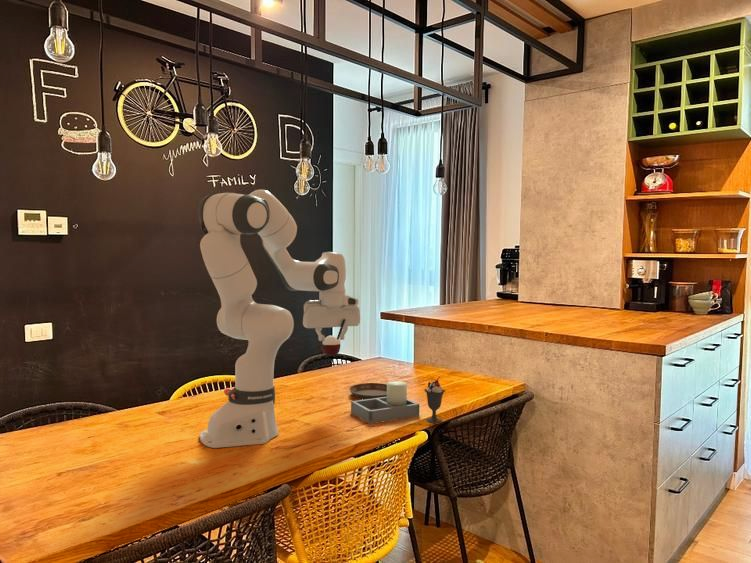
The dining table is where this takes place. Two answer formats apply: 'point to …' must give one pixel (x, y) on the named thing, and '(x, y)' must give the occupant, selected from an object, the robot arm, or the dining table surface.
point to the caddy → (386, 405)
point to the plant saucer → (369, 390)
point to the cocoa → (332, 343)
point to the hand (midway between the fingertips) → (331, 340)
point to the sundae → (434, 399)
